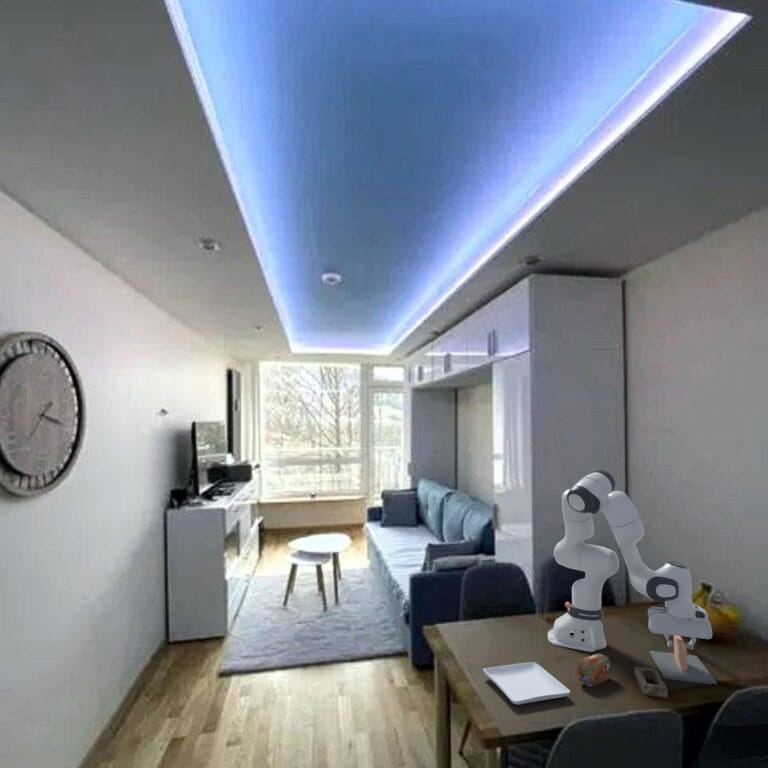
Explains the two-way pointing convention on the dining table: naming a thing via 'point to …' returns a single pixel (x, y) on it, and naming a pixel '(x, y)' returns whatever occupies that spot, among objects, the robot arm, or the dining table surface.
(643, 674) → the brown flat hollow block
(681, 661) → the pink flat slab
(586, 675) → the tin
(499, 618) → the dining table surface
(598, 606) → the robot arm
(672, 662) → the rubber mat
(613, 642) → the dining table surface
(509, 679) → the salad plate
